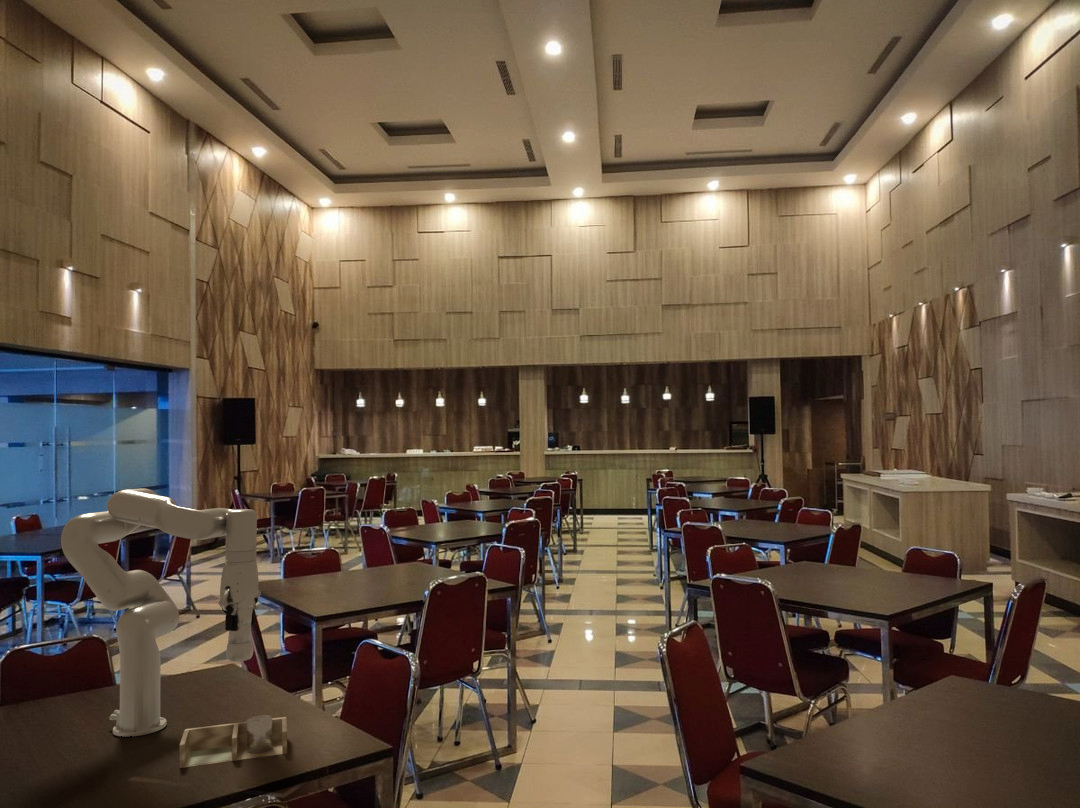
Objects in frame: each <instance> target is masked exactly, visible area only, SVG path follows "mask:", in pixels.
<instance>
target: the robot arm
mask: <svg viewBox="0 0 1080 808" xmlns="http://www.w3.org/2000/svg"><path fill="white" fill-rule="evenodd" d="M106 510H107V511H97V512H88V513H83V514H79V515H76V516H75V517H72V518H71V519H69V520H68V522H66V523H65V525H64V526H63V529H62V531H61V535H60V545H61V549H62V552H63V555H64V556H65V558H66V559H67V561H68V562H69V563H70V564H71V566H72V567H73V568H74V569H75V570H76V571H77V572H78V573H79V575H80V577H82V578H83V580H84V582H85V583H86V584H87V586H88V587H89V588H90V590H91V592H92V593H94V595H95V596H96V598H97V599H98V601H99V602H100V604H102V606H103V607H104V608H105V609H106V610H108V611H113V612H117V611H121V610H125V609H128V610H127V611H125V612H123V614H121V615H120V616H119V618H118V621H117V622H116V627H115V630H116V631H115V632H116V634H115V635H116V639H117V644H118V649H119V709H115V710H114V711H113V712H112V714H110V716H109V717H108V718H109V720H110V721H116V722H115V723H116V724H115V725H114V726H113V728H112V734H113V735H114V736H116V737H121V736H122V737H123V738H129V737H130V736H132V737H139V736H145V735H149V734H152V733H156V732H158V731H160V730H162V729H164V728H165V727H167V724H168V723H167V719H166V718H164V717H161V652H160V649H159V647H158V644H157V641H156V639H157V638H160V637H163V636H165V635H167V634H169V633H171V632H173V631H174V630H175V629H176V628H177V627H178V625H179V623H180V613H179V610H178V609H179V608H178V606H177V605H176V604H175V603H174V601H173V599H172V598H171V597H170V595H169V594H168V593H167V591H166V590H165V589H164V588H163V586H162V584H161V583H160V582H159V581H158V579H157V578H156V577H155V576H154V575H153V574H152V573H149V572H148V571H145V570H142V569H134V570H129V571H126V570H124V569H123V568H122V567H121V566H120V565H119V564H118V562H117V561H116V559H115V557H113V556H112V554H110V553H109V552H107V551H106V550H104V548H101V547H100V546H99V545H100V544H106V543H112V542H116V541H118V540H121V539H123V538H125V537H126V536H128V535H129V534H131V533H133V532H134V531H135V530H137V529H138V528H141V526H143V527H147V528H152V529H158V530H160V531H161V532H164V533H166V534H168V535H170V536H174V537H179V538H183V539H189V540H194V541H196V540H197V541H203V540H208V539H215V538H220V537H224V536H225V557H224V558H225V564H223V565H222V566H223V567H222V572H221V577H220V578H221V579H220V588H219V601H218V605H219V607H220V608H221V611H222V612H223V614H224V616H225V626H224V627H225V628H224V629H225V632H226V631H228V632H229V631H237V625H238V615H235V614H236V611H237V607H238V603H240V602H242V601H243V599H244V598H245V597H246V596H247V595H250V596H251V597H252V599H253V602H254V603H253V611H252V619H251V626H254V625H255V609H256V608H257V603H258V601H259V598H260V596H261V595H262V591H261V590H260V589H259V570H258V564H257V563H258V562H257V545H258V544H257V540H258V538H257V535H258V534H257V532H258V531H257V530H258V529H257V528H258V519H257V518H258V516H257V515H258V514H257V511H256V510H255V509H252V508H251V509H248V508H239V509H232V508H225V507H217V508H215V507H214V508H207V509H201V510H200V509H199V510H198V509H192V508H187V507H181V506H177V503H176V501H175V500H174V499H173V498H171V497H168V496H164V495H159V494H157V493H156V492H155V491H153V490H152V489H149V488H130V489H129V488H128V489H122V490H119V491H116V492H115V493H113V494H111V496H110V497H109V499H108V500H107V502H106ZM231 600H233V602H230V601H231ZM230 605H233V608H231V607H230ZM131 607H132V608H131ZM129 608H130V609H129Z"/></svg>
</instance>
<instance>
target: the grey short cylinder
mask: <svg viewBox="0 0 1080 808" xmlns="http://www.w3.org/2000/svg"><path fill="white" fill-rule="evenodd" d="M272 719H273V717H272V715H269V714H261V715H260V714H259V715H256V716H251V717H249V718H248V719H247V720H246V722H247V746H248V752H249V753H262V752H266V751H268V750H270V749H272V747H273V743H272Z"/></svg>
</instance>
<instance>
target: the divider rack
mask: <svg viewBox="0 0 1080 808" xmlns="http://www.w3.org/2000/svg"><path fill="white" fill-rule="evenodd" d="M272 743H273V747H272V749H270V750H268V751H266V752H262V753H249V752H248V746H247V721H242V722H241V721H240V722H234V723H225V724H217V725H208V726H203V727H202V726H200V727H192V728H186V729H184V730H183V733H182V737H181V739H180V743H179V768H180V769H182V768H188V767H195V766H196V767H197V766H202V765H203V766H204V765H205V766H206V765H211V764H212V765H213V764H218V763H219V764H220V763H225V762H234V761H242V760H247V759H256V758H262V757H263V758H264V757H271V756H277V755H286V754H288V726H287V716H283V717H272Z"/></svg>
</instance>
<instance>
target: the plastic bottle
mask: <svg viewBox="0 0 1080 808" xmlns="http://www.w3.org/2000/svg"><path fill="white" fill-rule="evenodd" d="M230 602H233V600H231V601H230ZM253 603H254V602H253V599H252V597H251V596H250V595H247V596H246V597H245V598H244V599H243V601H242V602H240V603H238V607H237V611H236V614H235V615H238V625H237V631H228V636H227V637H228V640H227V644H226V649H225V653H226V658H227V659H228V661H229V662H237V663H239V662H240V663H241V662H244V661H248V660H251V658H252V657H253V655H254V649H255V648H254V642H253V638H252V625H251V619H252V611H253ZM230 607H231V608H233V605H230Z"/></svg>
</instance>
